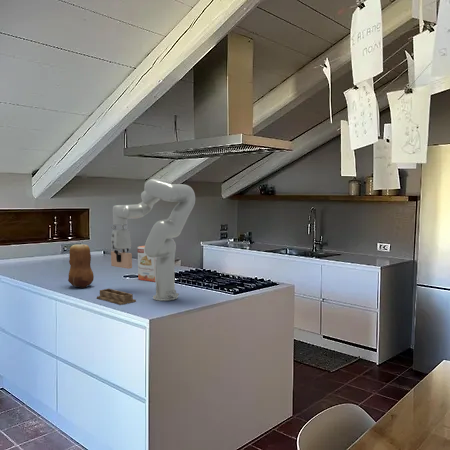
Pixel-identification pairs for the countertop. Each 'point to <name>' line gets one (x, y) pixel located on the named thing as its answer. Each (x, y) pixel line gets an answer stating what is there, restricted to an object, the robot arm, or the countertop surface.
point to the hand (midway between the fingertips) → (121, 261)
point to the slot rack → (116, 296)
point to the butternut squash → (80, 266)
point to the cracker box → (146, 266)
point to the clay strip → (122, 260)
